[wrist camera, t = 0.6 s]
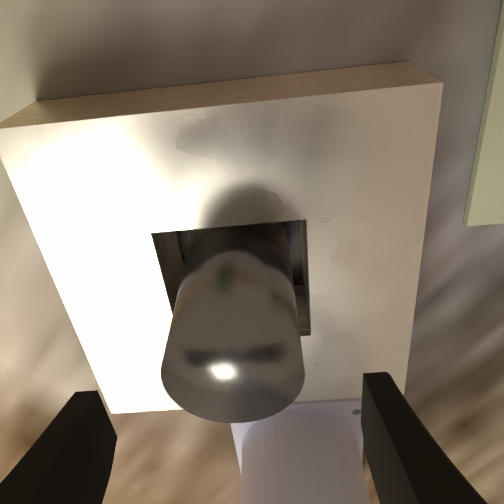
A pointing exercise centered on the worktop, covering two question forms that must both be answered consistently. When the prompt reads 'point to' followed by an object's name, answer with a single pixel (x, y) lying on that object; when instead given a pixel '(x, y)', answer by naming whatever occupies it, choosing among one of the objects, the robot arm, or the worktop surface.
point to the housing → (234, 210)
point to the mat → (490, 148)
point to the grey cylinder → (235, 326)
